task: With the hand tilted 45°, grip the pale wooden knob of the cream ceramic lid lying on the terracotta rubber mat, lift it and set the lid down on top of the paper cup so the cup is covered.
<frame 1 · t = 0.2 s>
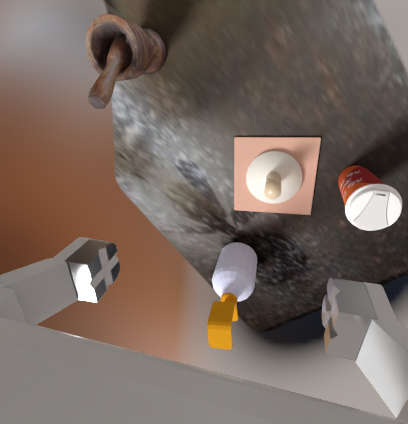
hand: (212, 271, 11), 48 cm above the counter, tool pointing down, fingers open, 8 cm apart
paper cup: (353, 179, 54), on the counter
mat: (273, 176, 57), on the counter
soap bottle: (238, 256, 68), on the counter
mortar and pestle: (151, 62, 53), on the counter
lid: (273, 177, 57), resting on mat
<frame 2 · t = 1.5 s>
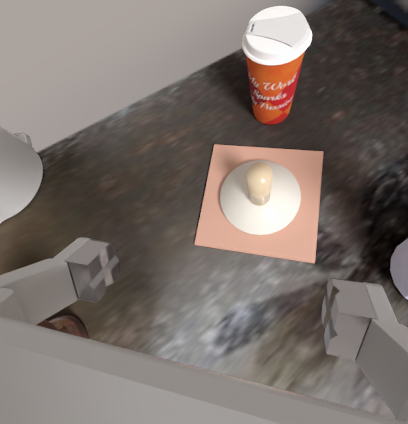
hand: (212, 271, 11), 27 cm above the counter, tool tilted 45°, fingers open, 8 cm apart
paper cup: (271, 110, 44), on the counter
mat: (259, 198, 40), on the counter
mortar and pestle: (76, 342, 39), on the counter
lid: (259, 197, 39), resting on mat
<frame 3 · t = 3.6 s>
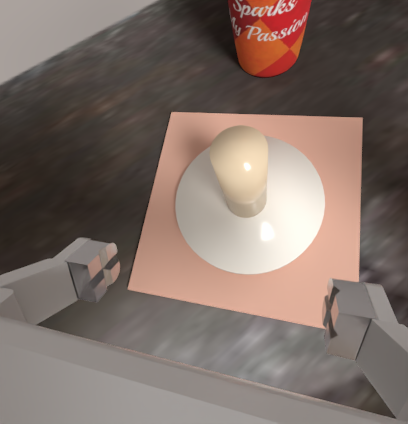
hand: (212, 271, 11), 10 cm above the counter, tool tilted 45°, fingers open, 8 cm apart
paper cup: (268, 55, 26), on the counter
mat: (247, 204, 22), on the counter
lid: (246, 202, 21), resting on mat
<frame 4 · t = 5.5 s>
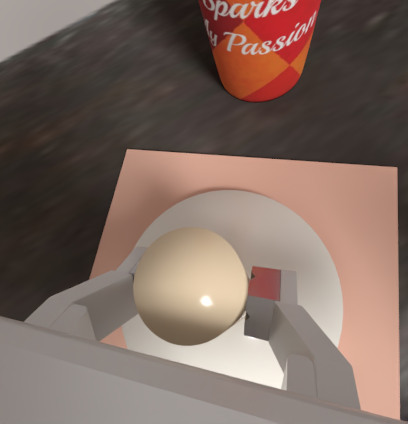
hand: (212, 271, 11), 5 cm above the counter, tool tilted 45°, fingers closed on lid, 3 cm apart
paper cup: (261, 71, 19), on the counter
mat: (226, 293, 15), on the counter
lid: (224, 293, 15), resting on mat, touching gripper
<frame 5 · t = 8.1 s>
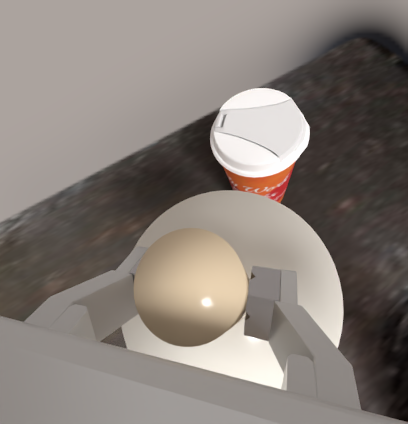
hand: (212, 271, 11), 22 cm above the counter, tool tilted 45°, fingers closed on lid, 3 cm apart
paper cup: (260, 193, 34), on the counter
lid: (224, 293, 14), point 17 cm above the counter, touching gripper
when the fingers open (20 cm above the counter, at t = 10.7 s): lid drops 1 cm, resting on paper cup.
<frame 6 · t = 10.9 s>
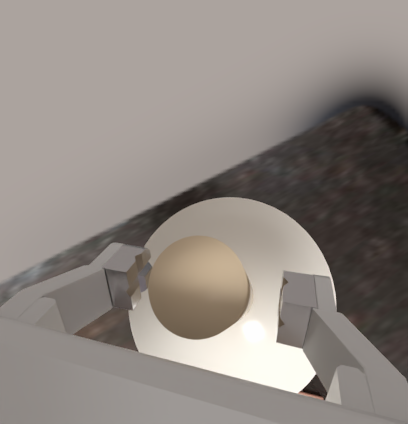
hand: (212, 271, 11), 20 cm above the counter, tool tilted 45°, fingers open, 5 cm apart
lid: (226, 294, 16), point 14 cm above the counter, touching paper cup
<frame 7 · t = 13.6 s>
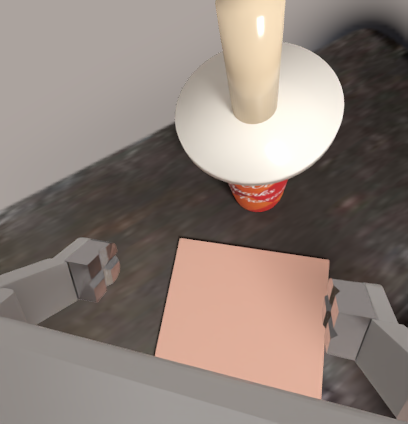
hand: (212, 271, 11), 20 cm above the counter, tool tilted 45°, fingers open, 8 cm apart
paper cup: (258, 190, 32), on the counter, touching lid
mat: (239, 326, 28), on the counter
lid: (254, 112, 19), point 14 cm above the counter, touching paper cup
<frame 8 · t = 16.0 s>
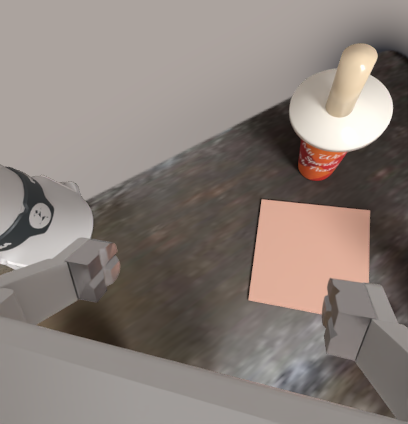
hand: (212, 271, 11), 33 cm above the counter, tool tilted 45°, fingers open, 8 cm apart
paper cup: (315, 166, 46), on the counter, touching lid
mat: (309, 255, 42), on the counter
lid: (337, 110, 33), point 14 cm above the counter, touching paper cup
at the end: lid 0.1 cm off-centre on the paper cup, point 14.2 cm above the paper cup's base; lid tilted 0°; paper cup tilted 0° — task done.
